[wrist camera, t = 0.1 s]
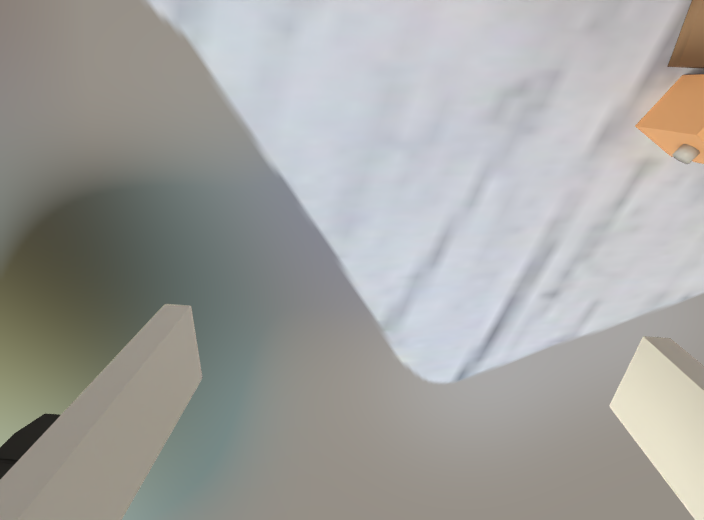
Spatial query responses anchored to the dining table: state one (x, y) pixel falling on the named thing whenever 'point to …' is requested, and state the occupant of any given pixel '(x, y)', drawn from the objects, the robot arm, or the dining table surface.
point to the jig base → (690, 39)
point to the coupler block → (679, 120)
